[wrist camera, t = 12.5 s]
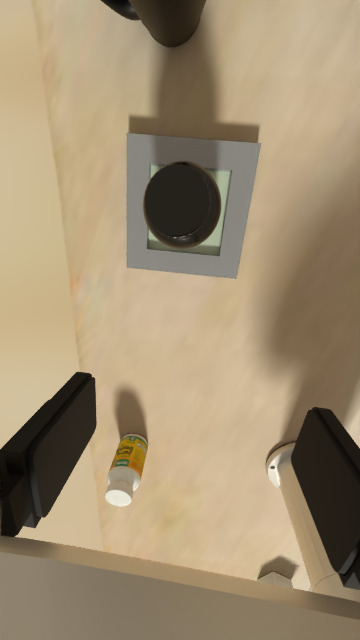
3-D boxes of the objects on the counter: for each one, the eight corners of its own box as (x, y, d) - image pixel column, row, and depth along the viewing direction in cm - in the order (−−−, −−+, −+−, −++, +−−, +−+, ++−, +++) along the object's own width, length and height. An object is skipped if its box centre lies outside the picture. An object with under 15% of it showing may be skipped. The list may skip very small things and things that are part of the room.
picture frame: (257, 148, 25) (261, 143, 23) (234, 276, 30) (236, 278, 28) (131, 138, 25) (126, 133, 24) (130, 265, 30) (126, 267, 29)
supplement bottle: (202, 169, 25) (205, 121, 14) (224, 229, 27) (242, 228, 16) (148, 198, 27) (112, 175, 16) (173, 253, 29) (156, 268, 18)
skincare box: (256, 578, 57) (264, 625, 50) (273, 570, 55) (284, 618, 48) (274, 587, 58) (284, 635, 51) (292, 579, 56) (304, 628, 49)
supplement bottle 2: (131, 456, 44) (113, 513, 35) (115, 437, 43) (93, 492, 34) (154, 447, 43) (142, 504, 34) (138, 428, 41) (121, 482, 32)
